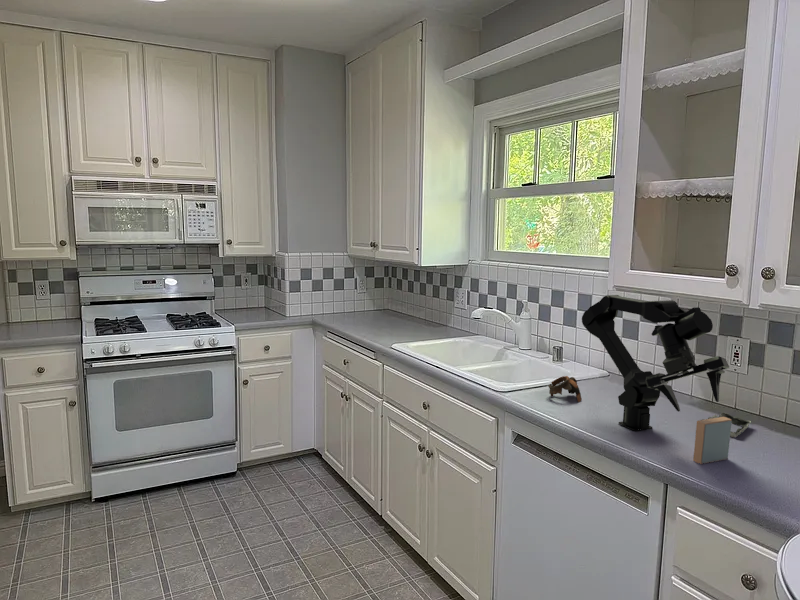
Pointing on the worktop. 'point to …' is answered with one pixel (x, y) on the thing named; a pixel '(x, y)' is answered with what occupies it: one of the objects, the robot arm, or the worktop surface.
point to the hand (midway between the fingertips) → (697, 406)
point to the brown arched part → (565, 386)
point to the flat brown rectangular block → (712, 440)
